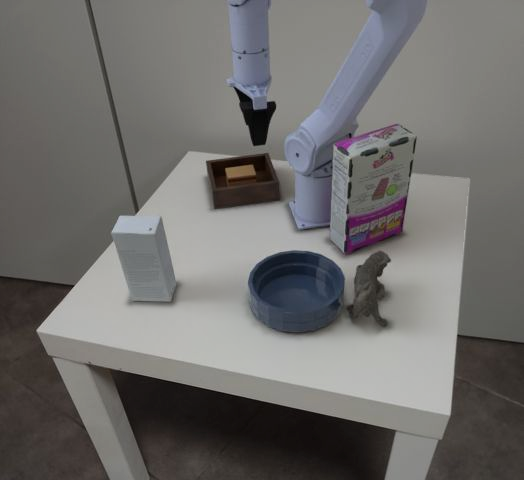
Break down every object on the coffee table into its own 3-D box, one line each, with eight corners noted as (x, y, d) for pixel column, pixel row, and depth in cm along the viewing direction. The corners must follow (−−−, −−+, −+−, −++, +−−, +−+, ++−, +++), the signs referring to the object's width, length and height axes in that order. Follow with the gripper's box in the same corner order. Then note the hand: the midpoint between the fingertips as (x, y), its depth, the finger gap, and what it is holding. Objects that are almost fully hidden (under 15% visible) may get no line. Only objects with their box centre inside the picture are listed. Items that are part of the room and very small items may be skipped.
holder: (268, 169, 102) (268, 152, 100) (279, 200, 95) (279, 182, 93) (207, 177, 101) (205, 160, 99) (214, 209, 94) (212, 191, 92)
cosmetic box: (177, 283, 81) (163, 215, 72) (171, 302, 78) (155, 234, 70) (138, 282, 82) (119, 214, 73) (130, 301, 79) (109, 233, 70)
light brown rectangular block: (253, 179, 99) (252, 164, 97) (257, 189, 97) (256, 174, 95) (226, 183, 99) (225, 168, 97) (229, 193, 97) (227, 178, 94)
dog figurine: (386, 335, 72) (393, 293, 67) (342, 329, 73) (346, 287, 68) (393, 277, 80) (400, 236, 74) (354, 273, 81) (358, 231, 76)
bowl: (329, 266, 82) (330, 244, 80) (354, 326, 74) (356, 304, 71) (243, 278, 81) (241, 257, 78) (258, 341, 73) (256, 320, 70)
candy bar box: (384, 218, 90) (398, 121, 78) (402, 233, 87) (420, 135, 75) (326, 239, 87) (331, 141, 75) (344, 256, 84) (352, 156, 72)
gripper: (218, 34, 87) (226, 118, 97) (230, 68, 77) (238, 157, 87) (262, 29, 87) (265, 113, 97) (279, 62, 78) (281, 152, 88)
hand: (255, 134), depth 92 cm, fingers open, 7 cm apart
